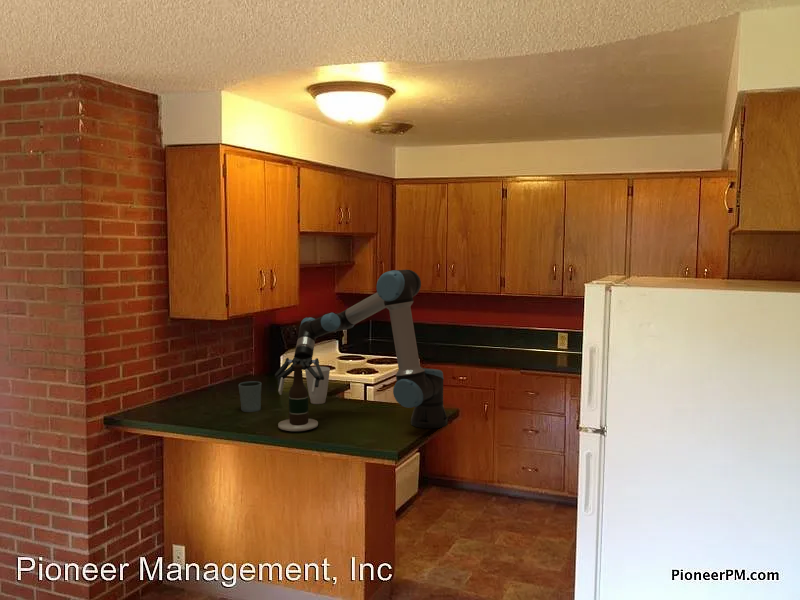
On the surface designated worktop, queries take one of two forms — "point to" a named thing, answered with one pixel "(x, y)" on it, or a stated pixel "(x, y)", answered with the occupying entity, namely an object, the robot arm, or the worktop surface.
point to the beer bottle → (298, 399)
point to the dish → (297, 428)
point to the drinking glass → (250, 396)
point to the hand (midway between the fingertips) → (296, 393)
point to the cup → (321, 389)
